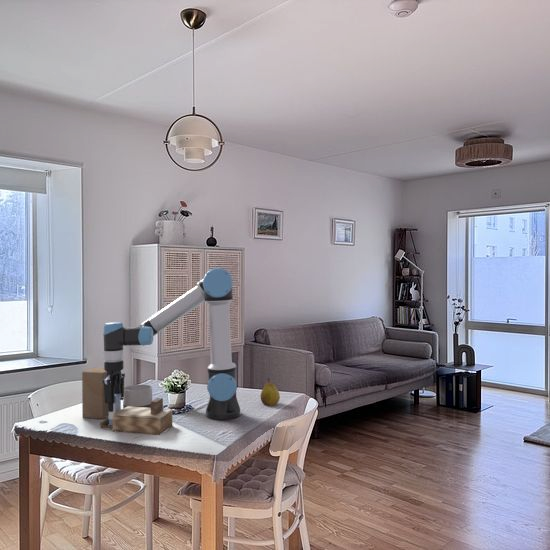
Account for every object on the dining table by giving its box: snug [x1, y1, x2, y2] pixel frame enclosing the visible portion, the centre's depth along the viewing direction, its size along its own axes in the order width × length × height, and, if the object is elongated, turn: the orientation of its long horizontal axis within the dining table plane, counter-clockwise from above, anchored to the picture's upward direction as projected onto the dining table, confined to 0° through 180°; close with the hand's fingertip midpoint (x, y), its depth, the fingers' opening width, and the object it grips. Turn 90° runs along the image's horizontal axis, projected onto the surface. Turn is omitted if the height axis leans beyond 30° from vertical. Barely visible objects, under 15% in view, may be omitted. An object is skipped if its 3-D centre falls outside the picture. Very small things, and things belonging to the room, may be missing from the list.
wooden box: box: [112, 411, 173, 436], centre depth 210 cm, size 20×12×6 cm, turn 77°
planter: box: [122, 384, 153, 409], centre depth 237 cm, size 13×13×10 cm
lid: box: [113, 397, 173, 419], centre depth 210 cm, size 20×11×6 cm, turn 77°
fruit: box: [260, 377, 281, 407], centre depth 248 cm, size 9×9×12 cm
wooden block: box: [81, 367, 109, 420], centre depth 229 cm, size 10×10×20 cm
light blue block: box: [108, 394, 122, 426], centre depth 213 cm, size 5×3×12 cm, turn 77°
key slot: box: [99, 417, 113, 430], centre depth 213 cm, size 7×7×2 cm
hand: (114, 417), depth 213 cm, fingers closed on light blue block, 3 cm apart
